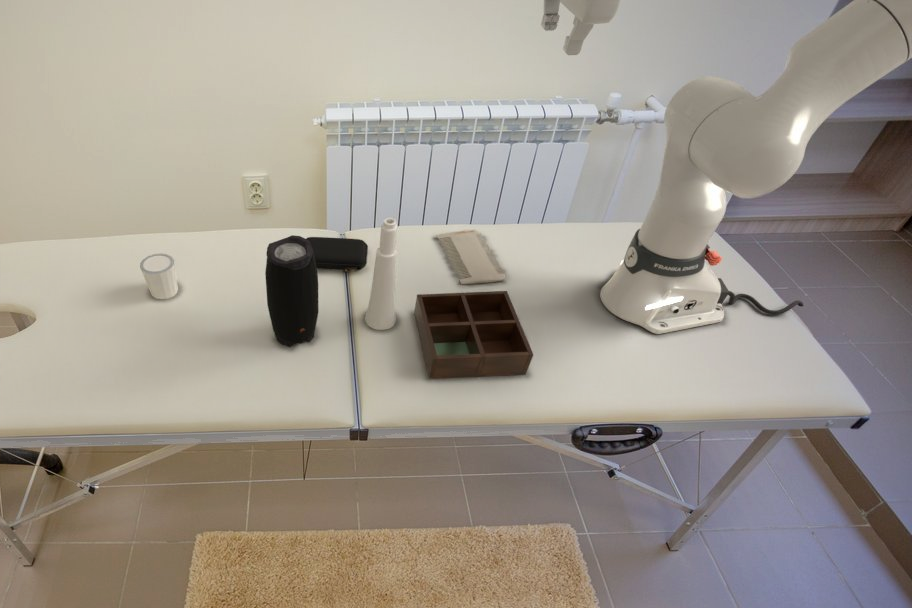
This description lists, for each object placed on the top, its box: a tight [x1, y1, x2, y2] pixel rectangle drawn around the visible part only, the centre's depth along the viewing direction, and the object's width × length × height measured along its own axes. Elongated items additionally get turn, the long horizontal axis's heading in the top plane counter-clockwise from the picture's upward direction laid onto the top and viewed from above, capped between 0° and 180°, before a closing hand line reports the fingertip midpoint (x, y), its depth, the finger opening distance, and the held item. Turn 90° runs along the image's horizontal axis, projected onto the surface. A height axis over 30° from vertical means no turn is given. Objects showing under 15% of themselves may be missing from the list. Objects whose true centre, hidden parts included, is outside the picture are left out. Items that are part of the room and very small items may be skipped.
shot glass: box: [139, 253, 179, 300], centre depth 116 cm, size 7×7×7 cm
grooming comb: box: [436, 229, 507, 285], centre depth 124 cm, size 18×10×1 cm, turn 9°
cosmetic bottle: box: [364, 217, 398, 331], centre depth 104 cm, size 6×6×22 cm
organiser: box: [413, 290, 534, 380], centre depth 105 cm, size 17×17×5 cm
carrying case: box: [305, 236, 369, 273], centre depth 124 cm, size 11×3×15 cm
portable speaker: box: [264, 235, 319, 348], centre depth 102 cm, size 9×9×20 cm
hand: (558, 40), depth 77 cm, fingers open, 8 cm apart
